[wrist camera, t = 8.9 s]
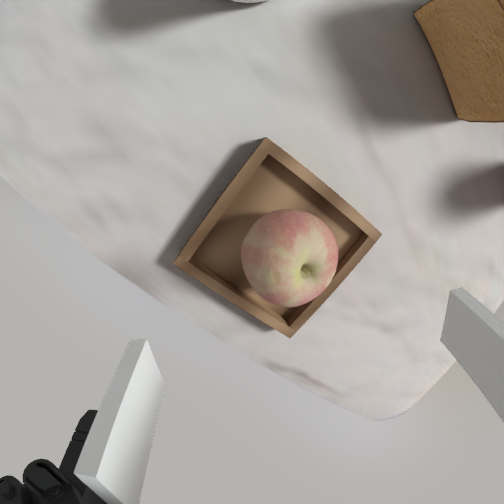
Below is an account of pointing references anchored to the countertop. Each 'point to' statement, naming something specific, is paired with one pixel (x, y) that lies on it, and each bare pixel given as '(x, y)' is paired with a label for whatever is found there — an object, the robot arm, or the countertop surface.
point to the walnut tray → (254, 207)
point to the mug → (248, 1)
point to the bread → (469, 53)
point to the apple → (289, 257)
